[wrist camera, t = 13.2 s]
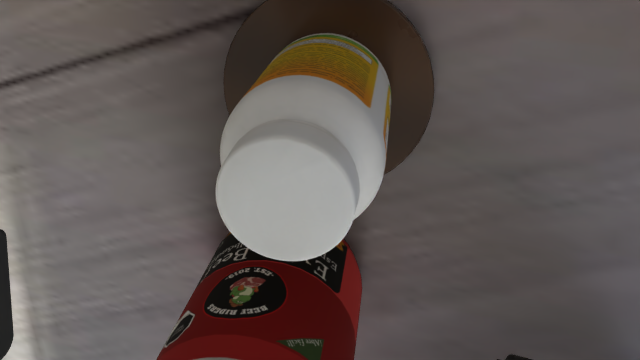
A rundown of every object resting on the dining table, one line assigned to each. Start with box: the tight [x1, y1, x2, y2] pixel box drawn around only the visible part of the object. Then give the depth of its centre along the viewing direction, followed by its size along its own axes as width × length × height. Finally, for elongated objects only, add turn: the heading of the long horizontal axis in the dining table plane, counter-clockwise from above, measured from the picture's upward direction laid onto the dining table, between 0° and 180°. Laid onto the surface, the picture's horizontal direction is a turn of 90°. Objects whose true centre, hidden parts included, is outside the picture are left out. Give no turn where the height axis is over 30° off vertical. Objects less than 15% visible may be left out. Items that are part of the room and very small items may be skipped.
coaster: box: [224, 0, 434, 175], centre depth 25 cm, size 9×9×1 cm
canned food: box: [157, 232, 362, 360], centre depth 25 cm, size 8×8×11 cm
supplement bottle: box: [216, 33, 391, 261], centre depth 20 cm, size 5×5×10 cm
